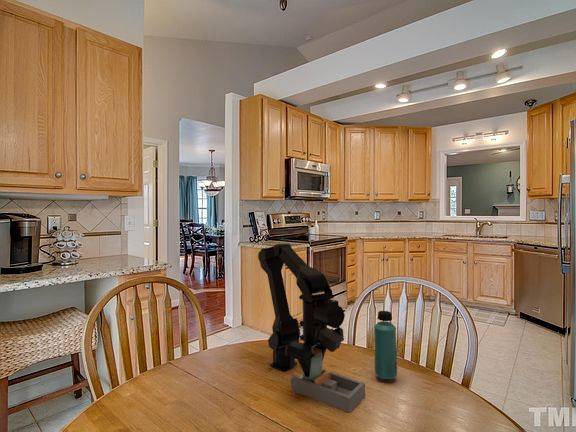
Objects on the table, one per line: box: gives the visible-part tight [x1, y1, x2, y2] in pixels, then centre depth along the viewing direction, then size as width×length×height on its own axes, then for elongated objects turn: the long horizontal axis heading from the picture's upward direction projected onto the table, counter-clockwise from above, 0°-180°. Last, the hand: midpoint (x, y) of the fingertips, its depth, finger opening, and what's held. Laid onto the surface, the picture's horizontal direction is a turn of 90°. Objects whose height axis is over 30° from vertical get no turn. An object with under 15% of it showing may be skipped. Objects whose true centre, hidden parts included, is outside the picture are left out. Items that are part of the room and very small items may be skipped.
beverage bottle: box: [373, 310, 398, 380], centre depth 97 cm, size 6×7×20 cm
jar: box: [302, 347, 323, 383], centre depth 93 cm, size 6×6×8 cm
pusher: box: [315, 370, 337, 390], centre depth 90 cm, size 4×7×3 cm, turn 143°
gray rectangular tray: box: [290, 368, 366, 414], centre depth 90 cm, size 18×9×4 cm, turn 53°
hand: (313, 372), depth 93 cm, fingers closed on jar, 5 cm apart
